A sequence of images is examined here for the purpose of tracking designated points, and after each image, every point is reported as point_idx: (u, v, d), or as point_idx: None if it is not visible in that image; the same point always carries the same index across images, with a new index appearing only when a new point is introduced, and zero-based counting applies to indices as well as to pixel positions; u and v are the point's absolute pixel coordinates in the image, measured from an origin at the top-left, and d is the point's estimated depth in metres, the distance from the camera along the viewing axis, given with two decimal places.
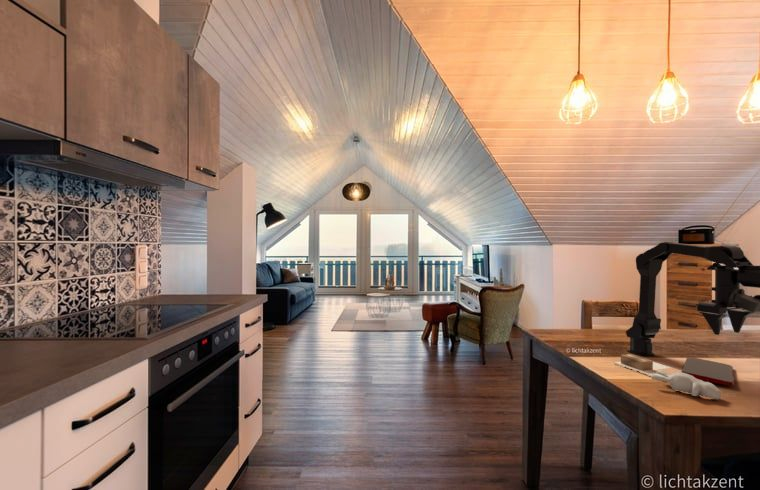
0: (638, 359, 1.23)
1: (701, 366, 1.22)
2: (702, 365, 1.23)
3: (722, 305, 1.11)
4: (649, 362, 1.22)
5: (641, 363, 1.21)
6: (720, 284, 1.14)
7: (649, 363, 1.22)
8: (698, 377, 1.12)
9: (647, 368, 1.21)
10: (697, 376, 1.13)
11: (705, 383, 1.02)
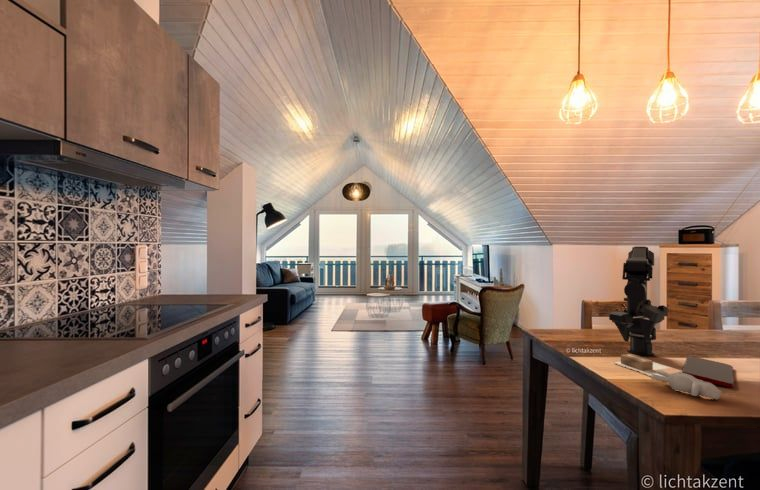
0: (638, 359, 1.23)
1: (701, 366, 1.22)
2: (702, 365, 1.23)
3: (629, 315, 1.21)
4: (649, 362, 1.22)
5: (641, 363, 1.21)
6: None
7: (649, 363, 1.22)
8: (698, 378, 1.12)
9: (647, 368, 1.21)
10: (697, 377, 1.13)
11: (705, 383, 1.02)
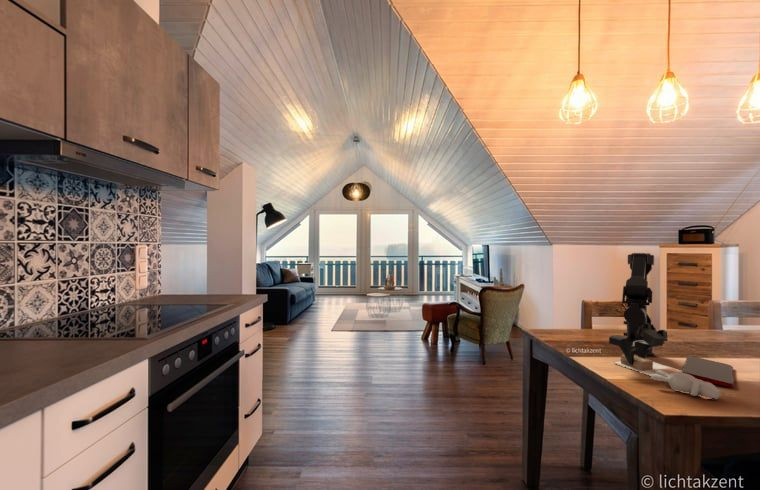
0: (638, 359, 1.23)
1: (701, 366, 1.22)
2: (702, 365, 1.23)
3: (629, 339, 1.21)
4: (649, 362, 1.22)
5: (641, 363, 1.21)
6: None
7: (649, 363, 1.22)
8: (698, 378, 1.12)
9: (647, 368, 1.21)
10: (697, 377, 1.13)
11: (704, 383, 1.02)
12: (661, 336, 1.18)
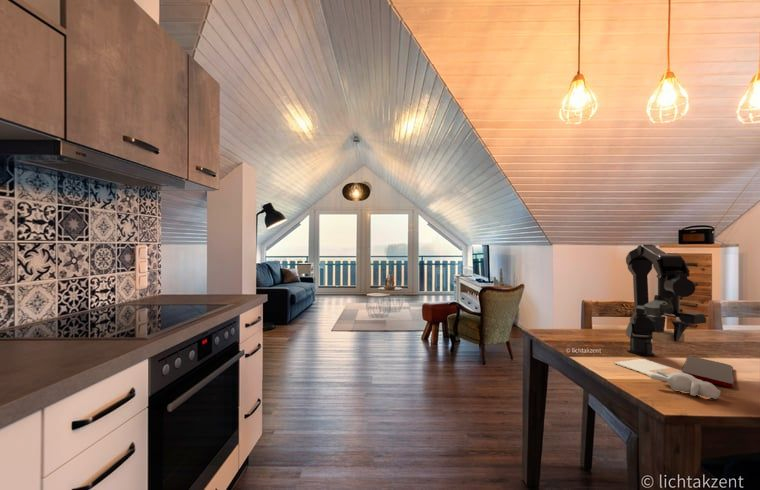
0: (661, 332, 1.20)
1: (701, 366, 1.22)
2: (702, 365, 1.23)
3: (643, 307, 1.25)
4: (661, 335, 1.18)
5: None
6: (658, 291, 1.20)
7: (661, 336, 1.18)
8: (698, 378, 1.12)
9: (658, 340, 1.18)
10: (697, 377, 1.13)
11: (704, 383, 1.02)
12: (654, 306, 1.16)
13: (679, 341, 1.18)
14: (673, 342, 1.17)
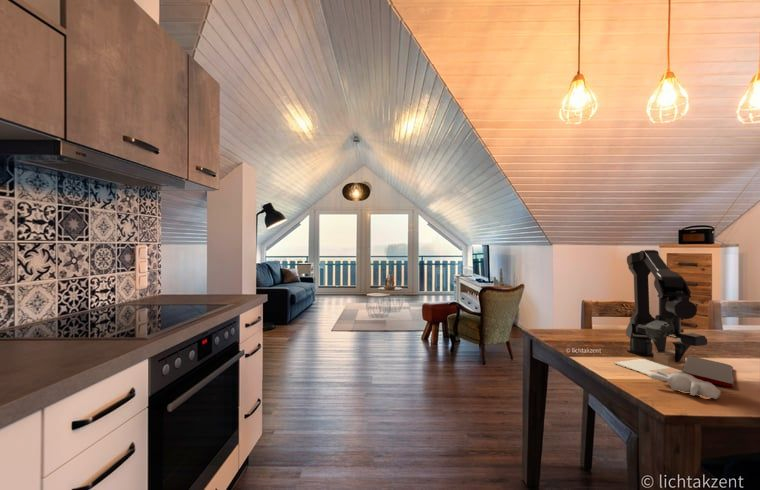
0: (662, 352, 1.20)
1: (701, 366, 1.22)
2: (702, 365, 1.23)
3: (644, 326, 1.25)
4: (662, 356, 1.18)
5: None
6: (659, 311, 1.20)
7: (662, 357, 1.18)
8: (698, 378, 1.12)
9: (660, 361, 1.18)
10: (697, 377, 1.13)
11: (704, 383, 1.02)
12: (655, 327, 1.16)
13: (680, 362, 1.18)
14: (674, 363, 1.17)
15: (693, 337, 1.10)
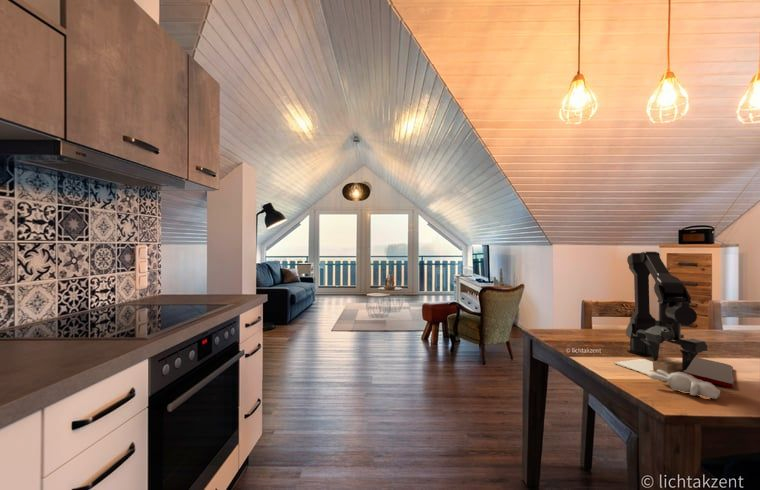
0: (661, 361, 1.20)
1: (701, 366, 1.22)
2: (702, 365, 1.23)
3: (644, 331, 1.25)
4: (661, 365, 1.18)
5: None
6: (659, 317, 1.20)
7: (662, 366, 1.18)
8: (698, 378, 1.12)
9: None
10: (697, 377, 1.13)
11: (704, 382, 1.02)
12: (655, 333, 1.16)
13: (680, 370, 1.18)
14: None
15: (693, 343, 1.10)
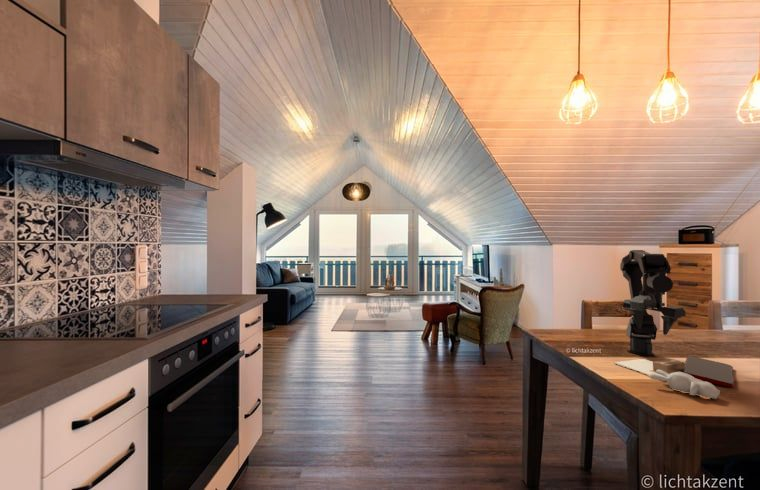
0: (661, 361, 1.20)
1: (701, 366, 1.22)
2: (702, 365, 1.23)
3: (629, 301, 1.35)
4: (661, 365, 1.18)
5: None
6: (642, 287, 1.31)
7: (662, 366, 1.18)
8: (698, 378, 1.12)
9: None
10: (697, 377, 1.13)
11: (703, 382, 1.02)
12: (639, 301, 1.26)
13: (680, 370, 1.18)
14: None
15: (672, 309, 1.21)
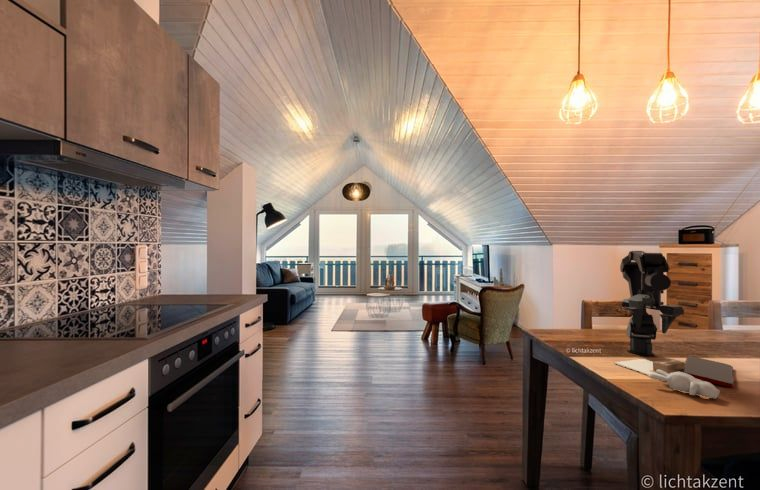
0: (661, 361, 1.20)
1: (701, 366, 1.22)
2: (702, 365, 1.23)
3: (628, 300, 1.36)
4: (661, 365, 1.18)
5: None
6: (641, 286, 1.31)
7: (662, 366, 1.18)
8: (698, 378, 1.12)
9: None
10: (697, 377, 1.13)
11: (703, 382, 1.02)
12: (637, 300, 1.27)
13: (680, 370, 1.18)
14: (674, 371, 1.17)
15: (671, 307, 1.21)
